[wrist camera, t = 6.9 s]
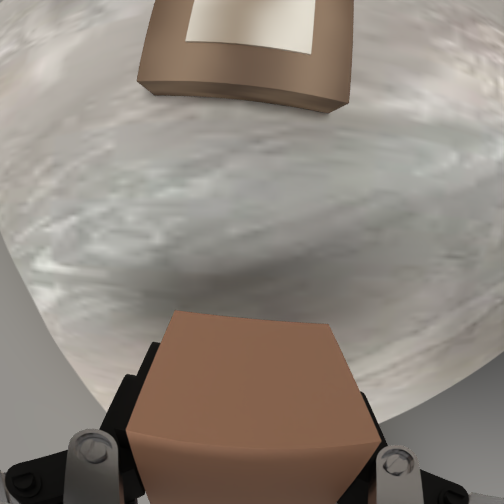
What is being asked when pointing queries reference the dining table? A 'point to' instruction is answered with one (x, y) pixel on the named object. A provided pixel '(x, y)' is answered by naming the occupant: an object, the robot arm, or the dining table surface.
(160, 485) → the terracotta cube
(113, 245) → the dining table surface
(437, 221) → the dining table surface
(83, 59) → the dining table surface
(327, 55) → the walnut frame
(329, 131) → the dining table surface
